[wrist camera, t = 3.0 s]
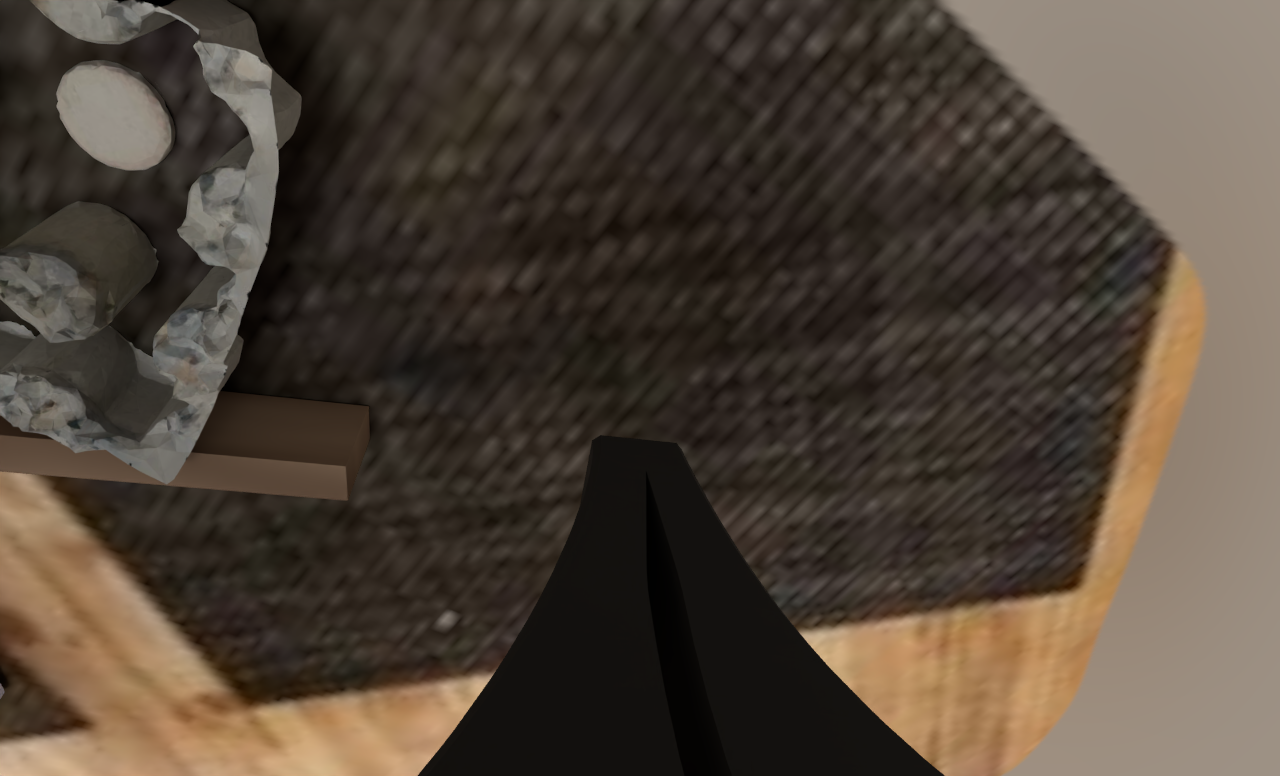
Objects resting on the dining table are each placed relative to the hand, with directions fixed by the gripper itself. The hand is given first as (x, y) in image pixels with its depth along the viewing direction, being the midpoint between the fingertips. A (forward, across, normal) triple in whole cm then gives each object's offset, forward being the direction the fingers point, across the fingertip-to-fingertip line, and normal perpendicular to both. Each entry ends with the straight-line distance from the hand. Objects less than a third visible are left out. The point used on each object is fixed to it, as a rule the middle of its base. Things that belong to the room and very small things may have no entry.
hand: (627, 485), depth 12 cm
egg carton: (+9, +11, 0) cm, 14 cm away
